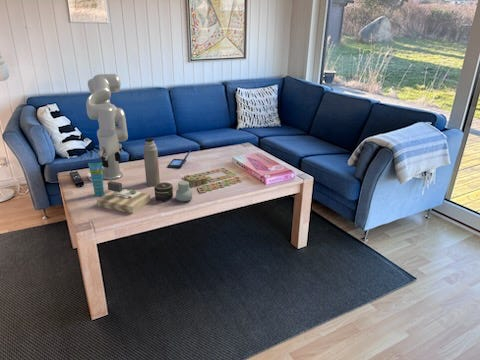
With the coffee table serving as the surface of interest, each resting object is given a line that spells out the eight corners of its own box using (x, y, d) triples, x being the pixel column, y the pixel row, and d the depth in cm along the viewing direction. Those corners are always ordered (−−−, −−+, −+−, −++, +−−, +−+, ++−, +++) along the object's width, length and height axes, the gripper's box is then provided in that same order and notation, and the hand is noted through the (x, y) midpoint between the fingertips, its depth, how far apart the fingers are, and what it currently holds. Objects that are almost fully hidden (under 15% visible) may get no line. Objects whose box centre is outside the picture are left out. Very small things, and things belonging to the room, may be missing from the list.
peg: (109, 194, 199) (107, 182, 196) (111, 192, 201) (110, 181, 199) (129, 198, 195) (128, 186, 192) (132, 196, 197) (131, 185, 194)
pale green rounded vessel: (177, 195, 210) (176, 178, 206) (192, 194, 210) (191, 178, 206) (176, 203, 200) (175, 186, 196) (191, 203, 200) (190, 186, 196)
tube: (92, 196, 206) (87, 164, 199) (93, 193, 210) (88, 161, 203) (106, 195, 208) (101, 163, 200) (106, 192, 212) (102, 160, 205)
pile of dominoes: (199, 195, 211) (199, 186, 209) (177, 180, 231) (177, 171, 229) (248, 181, 231) (248, 173, 228) (223, 168, 251) (223, 161, 248)
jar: (165, 192, 212) (164, 180, 210) (177, 197, 207) (176, 185, 204) (151, 198, 205) (150, 185, 202) (163, 203, 200) (162, 190, 197)
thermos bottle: (161, 181, 227) (158, 137, 216) (156, 186, 220) (153, 141, 209) (149, 180, 229) (145, 136, 218) (144, 185, 222) (139, 140, 211)
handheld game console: (173, 160, 263) (172, 148, 260) (191, 161, 262) (191, 149, 258) (166, 168, 249) (166, 155, 245) (186, 169, 247) (185, 156, 244)
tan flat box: (97, 206, 196) (96, 198, 194) (118, 193, 211) (117, 186, 209) (132, 213, 189) (131, 205, 187) (151, 199, 204) (151, 192, 202)
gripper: (113, 127, 194) (116, 158, 201) (89, 135, 179) (94, 168, 186) (125, 128, 192) (128, 159, 198) (102, 137, 177) (107, 170, 183)
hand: (112, 164), depth 192 cm, fingers open, 9 cm apart
